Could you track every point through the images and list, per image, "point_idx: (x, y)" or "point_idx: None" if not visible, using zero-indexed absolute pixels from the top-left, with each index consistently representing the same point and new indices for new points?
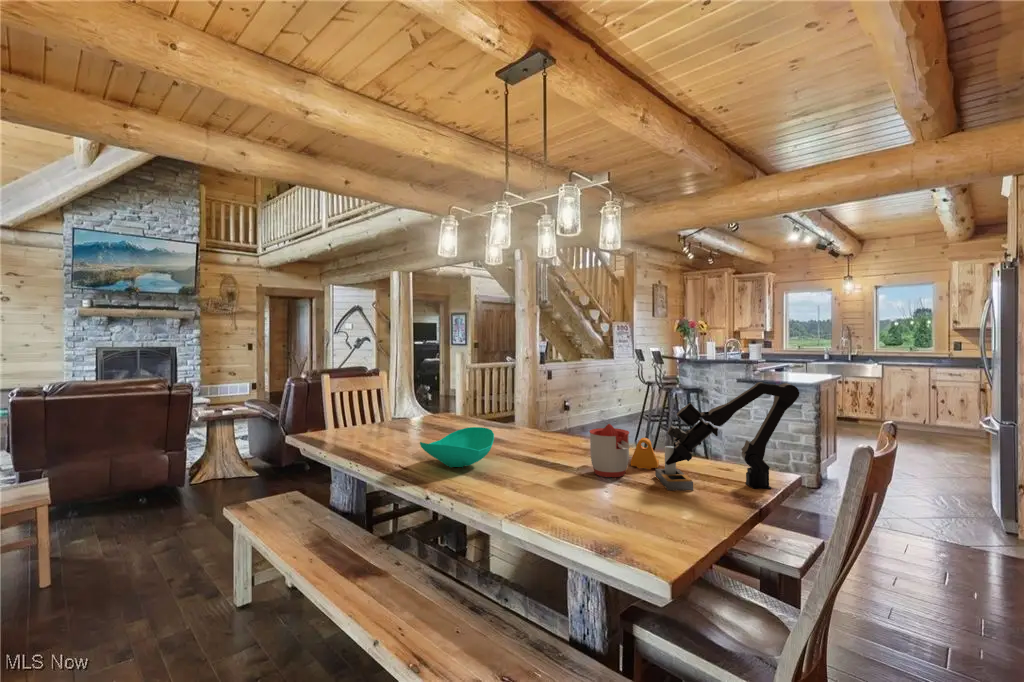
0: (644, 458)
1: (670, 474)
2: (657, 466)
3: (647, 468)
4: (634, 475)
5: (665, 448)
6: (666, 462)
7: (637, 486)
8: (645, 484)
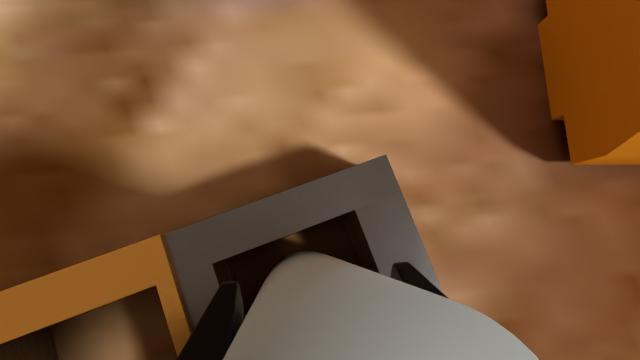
0: (622, 26)
1: None
2: (582, 161)
3: (551, 93)
4: (340, 23)
5: (259, 330)
6: (213, 297)
7: (49, 67)
8: (122, 118)
